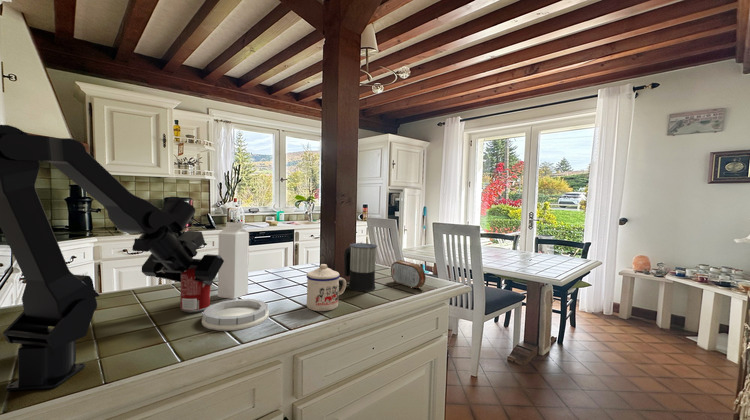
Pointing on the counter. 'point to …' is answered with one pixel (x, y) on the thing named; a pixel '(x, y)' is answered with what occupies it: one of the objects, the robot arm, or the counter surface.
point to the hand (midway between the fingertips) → (199, 283)
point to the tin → (408, 274)
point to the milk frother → (360, 266)
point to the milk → (233, 261)
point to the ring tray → (235, 314)
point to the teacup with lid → (323, 289)
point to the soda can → (193, 293)
